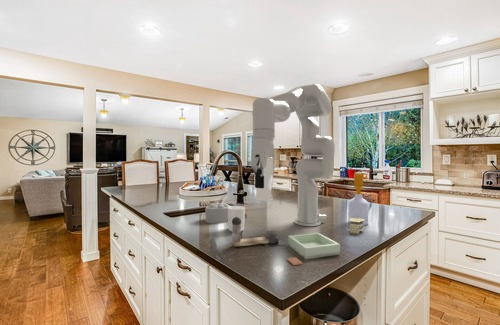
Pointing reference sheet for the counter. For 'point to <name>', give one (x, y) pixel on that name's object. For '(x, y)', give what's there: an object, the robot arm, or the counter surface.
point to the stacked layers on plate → (356, 225)
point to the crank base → (292, 260)
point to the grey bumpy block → (216, 213)
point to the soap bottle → (358, 201)
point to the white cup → (236, 215)
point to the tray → (313, 245)
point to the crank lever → (237, 241)
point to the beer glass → (266, 181)
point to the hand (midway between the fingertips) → (263, 186)
